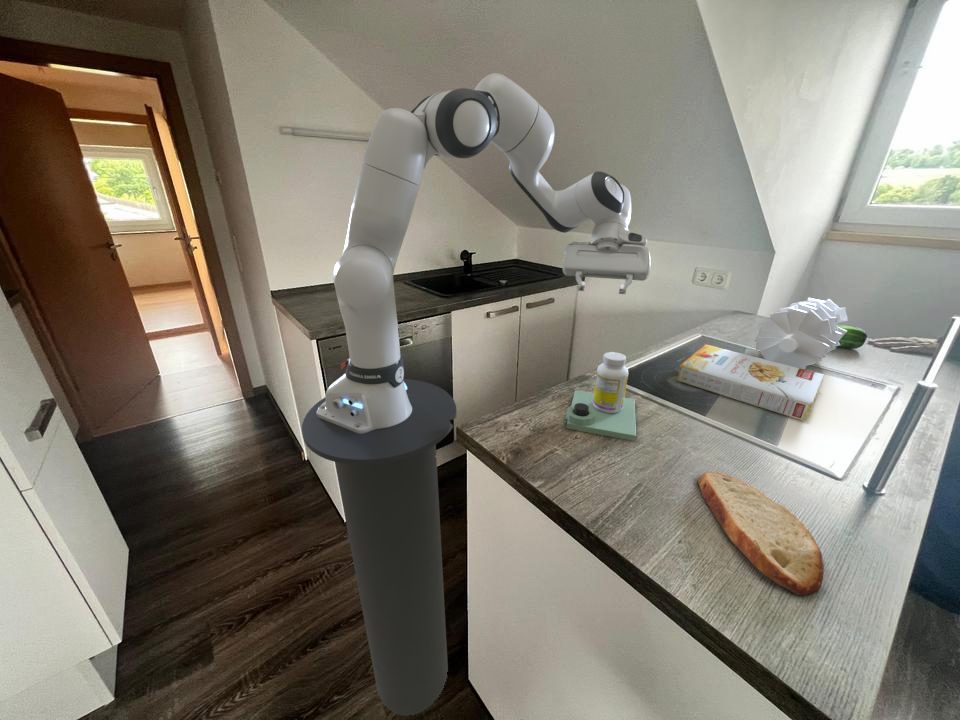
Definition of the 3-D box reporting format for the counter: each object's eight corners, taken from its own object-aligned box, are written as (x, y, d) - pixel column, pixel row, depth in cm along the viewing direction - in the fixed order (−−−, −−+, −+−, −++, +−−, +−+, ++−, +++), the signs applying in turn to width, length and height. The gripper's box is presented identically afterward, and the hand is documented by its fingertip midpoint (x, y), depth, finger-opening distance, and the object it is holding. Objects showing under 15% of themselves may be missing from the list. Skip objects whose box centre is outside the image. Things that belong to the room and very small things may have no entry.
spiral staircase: (757, 377, 116) (785, 353, 130) (834, 373, 101) (856, 346, 115) (742, 319, 114) (772, 300, 128) (818, 306, 99) (843, 287, 113)
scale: (564, 428, 84) (565, 416, 83) (572, 394, 98) (574, 383, 97) (634, 441, 80) (637, 429, 78) (633, 404, 94) (635, 393, 92)
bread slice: (703, 472, 71) (708, 455, 69) (829, 526, 60) (839, 508, 58) (666, 528, 59) (671, 510, 58) (815, 610, 48) (826, 590, 46)
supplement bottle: (609, 397, 94) (617, 348, 88) (628, 410, 88) (638, 359, 83) (586, 402, 91) (593, 352, 86) (604, 416, 86) (613, 364, 80)
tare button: (573, 415, 84) (573, 408, 83) (574, 408, 86) (575, 402, 86) (587, 418, 83) (588, 411, 82) (588, 411, 85) (589, 404, 85)
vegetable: (871, 327, 120) (792, 314, 133) (862, 349, 120) (784, 333, 134) (869, 332, 125) (793, 319, 139) (860, 353, 126) (785, 338, 139)
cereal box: (704, 342, 115) (826, 371, 97) (700, 359, 117) (818, 391, 99) (679, 364, 102) (815, 402, 84) (675, 382, 104) (806, 423, 86)
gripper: (566, 233, 97) (556, 280, 92) (654, 236, 91) (649, 287, 86) (566, 249, 102) (558, 294, 98) (649, 253, 96) (644, 301, 92)
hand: (601, 291), depth 92 cm, fingers open, 8 cm apart
